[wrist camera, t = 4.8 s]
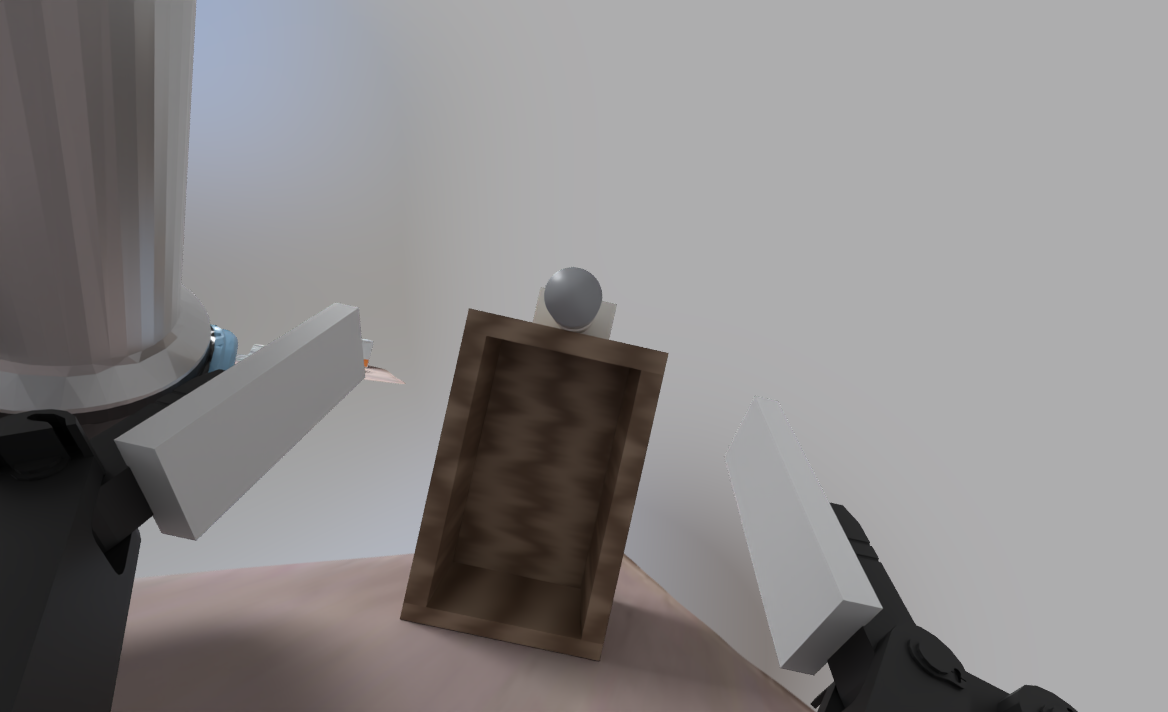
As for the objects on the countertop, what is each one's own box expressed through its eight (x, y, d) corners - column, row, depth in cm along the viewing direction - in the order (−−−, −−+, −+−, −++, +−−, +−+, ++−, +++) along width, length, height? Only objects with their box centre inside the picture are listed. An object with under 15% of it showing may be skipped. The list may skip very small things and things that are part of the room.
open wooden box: (399, 618, 37) (469, 308, 37) (438, 561, 47) (492, 317, 47) (599, 661, 37) (668, 353, 37) (594, 595, 47) (649, 353, 47)
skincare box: (354, 367, 175) (360, 339, 175) (348, 365, 177) (354, 337, 177) (368, 368, 180) (374, 341, 180) (362, 366, 182) (368, 339, 182)
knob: (623, 337, 29) (636, 280, 29) (509, 312, 29) (522, 255, 29) (605, 343, 47) (613, 308, 47) (536, 327, 47) (543, 292, 47)
